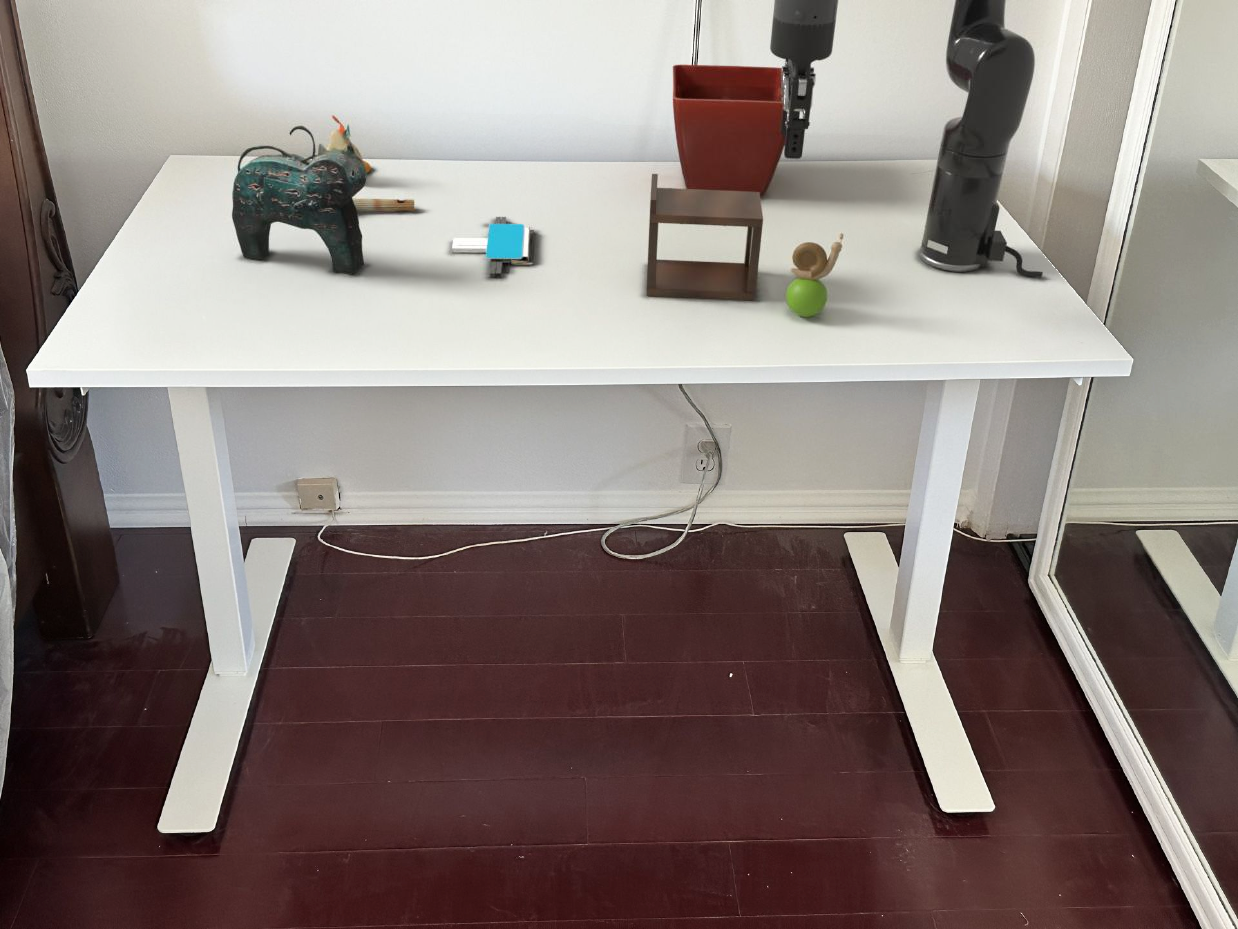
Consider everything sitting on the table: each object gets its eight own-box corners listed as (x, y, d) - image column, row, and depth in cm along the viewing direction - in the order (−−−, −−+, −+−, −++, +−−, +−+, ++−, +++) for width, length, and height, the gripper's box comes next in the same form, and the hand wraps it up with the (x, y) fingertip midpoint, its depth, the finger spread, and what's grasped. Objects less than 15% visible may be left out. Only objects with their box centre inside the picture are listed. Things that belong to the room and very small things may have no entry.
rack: (751, 270, 169) (760, 177, 161) (754, 300, 161) (764, 204, 153) (647, 266, 169) (652, 173, 161) (646, 296, 161) (650, 199, 153)
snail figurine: (830, 326, 155) (843, 243, 148) (782, 321, 156) (792, 237, 149) (832, 308, 160) (845, 226, 153) (785, 303, 161) (795, 221, 154)
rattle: (391, 179, 194) (385, 110, 188) (348, 191, 190) (341, 121, 183) (366, 166, 199) (359, 99, 192) (324, 177, 194) (315, 109, 187)
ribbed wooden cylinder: (283, 188, 181) (414, 192, 184) (285, 205, 183) (414, 209, 185) (280, 198, 178) (413, 202, 181) (282, 215, 180) (413, 218, 182)
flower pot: (667, 160, 205) (672, 62, 195) (777, 164, 204) (787, 66, 195) (667, 202, 189) (672, 98, 180) (785, 206, 189) (797, 102, 179)
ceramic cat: (378, 264, 168) (364, 126, 156) (358, 283, 162) (342, 142, 151) (254, 245, 172) (231, 109, 160) (230, 263, 167) (205, 124, 155)
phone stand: (457, 220, 181) (457, 210, 180) (534, 221, 181) (534, 211, 181) (447, 277, 164) (447, 266, 164) (532, 278, 165) (532, 267, 164)
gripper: (841, 30, 134) (824, 167, 143) (831, 0, 146) (815, 128, 155) (776, 28, 134) (763, 164, 143) (770, -2, 146) (759, 126, 155)
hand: (790, 145), depth 149 cm, fingers open, 8 cm apart
